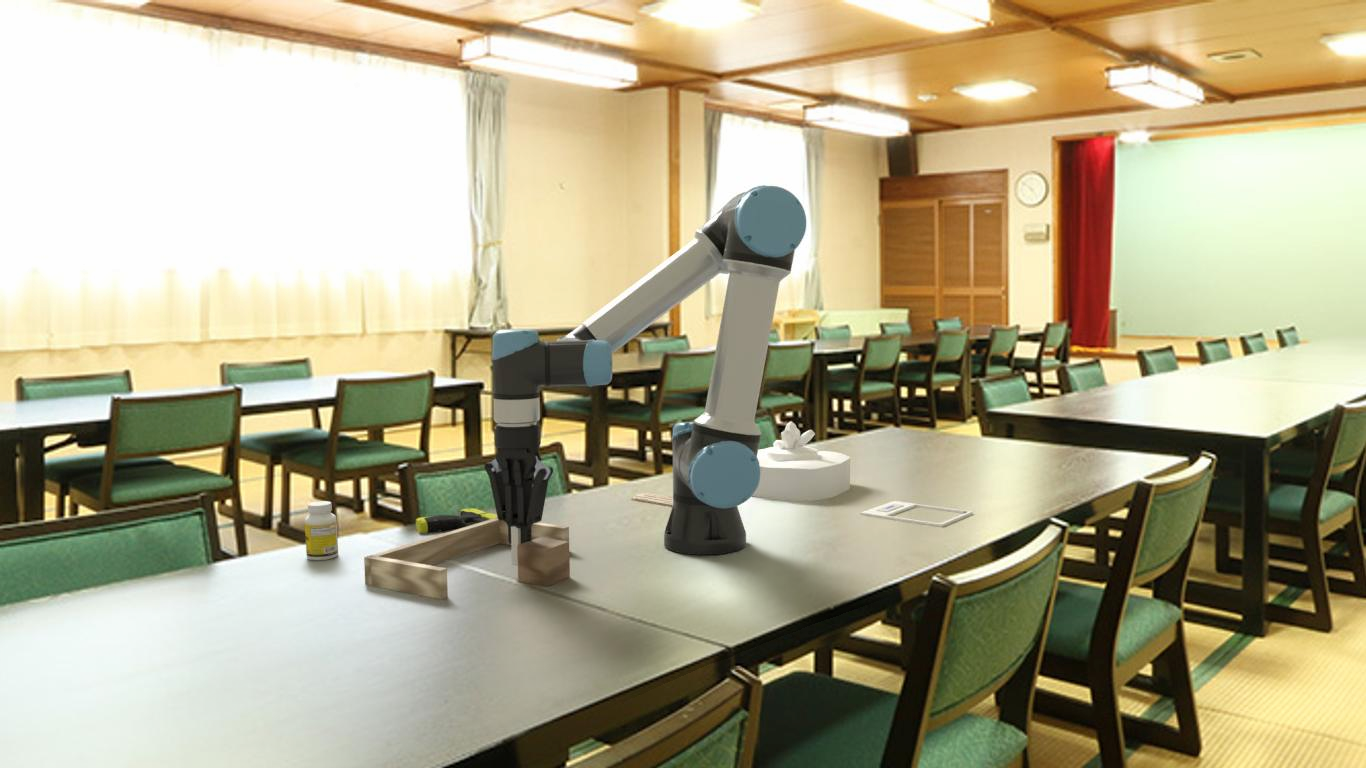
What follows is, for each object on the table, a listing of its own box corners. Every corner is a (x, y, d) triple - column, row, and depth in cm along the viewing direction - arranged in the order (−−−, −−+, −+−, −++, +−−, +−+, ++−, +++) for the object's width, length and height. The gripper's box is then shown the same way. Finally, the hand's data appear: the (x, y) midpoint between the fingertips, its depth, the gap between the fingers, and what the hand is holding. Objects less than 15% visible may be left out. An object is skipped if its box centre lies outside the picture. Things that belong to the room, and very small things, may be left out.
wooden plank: (631, 503, 234) (631, 495, 234) (652, 498, 240) (651, 490, 240) (715, 517, 220) (715, 509, 220) (735, 511, 225) (735, 503, 225)
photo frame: (894, 500, 229) (972, 510, 217) (894, 505, 229) (972, 516, 218) (860, 511, 218) (941, 523, 206) (860, 516, 218) (941, 529, 206)
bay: (569, 551, 191) (568, 526, 190) (440, 599, 162) (440, 570, 162) (498, 540, 199) (498, 517, 198) (365, 584, 171) (364, 557, 170)
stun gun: (453, 535, 194) (524, 522, 203) (408, 516, 208) (476, 505, 218) (453, 550, 194) (524, 537, 203) (408, 531, 209) (476, 519, 218)
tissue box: (861, 485, 250) (861, 418, 249) (818, 504, 229) (818, 431, 228) (766, 475, 263) (766, 412, 262) (718, 493, 242) (717, 424, 240)
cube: (569, 577, 174) (569, 541, 173) (547, 586, 169) (546, 549, 168) (541, 572, 177) (540, 537, 176) (518, 581, 172) (517, 545, 171)
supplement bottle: (310, 553, 190) (308, 500, 190) (341, 552, 191) (339, 499, 190) (302, 561, 185) (300, 506, 184) (334, 560, 186) (331, 506, 185)
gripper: (562, 423, 173) (565, 563, 175) (501, 418, 179) (505, 553, 182) (533, 428, 166) (537, 574, 169) (471, 423, 173) (475, 563, 175)
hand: (520, 563), depth 175 cm, fingers closed
